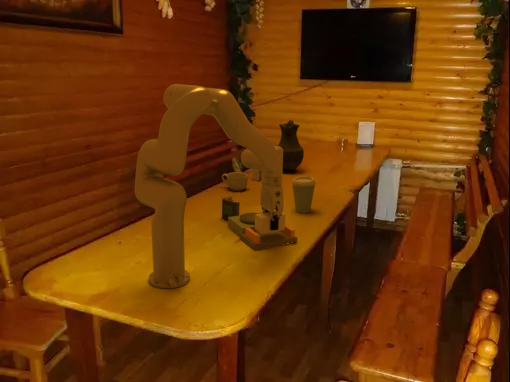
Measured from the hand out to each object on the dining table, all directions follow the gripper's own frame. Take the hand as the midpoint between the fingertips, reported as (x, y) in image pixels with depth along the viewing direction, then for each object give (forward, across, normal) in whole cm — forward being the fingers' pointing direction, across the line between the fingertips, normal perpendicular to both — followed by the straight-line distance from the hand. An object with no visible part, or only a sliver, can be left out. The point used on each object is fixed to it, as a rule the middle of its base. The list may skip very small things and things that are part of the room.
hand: (270, 226), depth 176 cm
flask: (+6, +28, +4) cm, 29 cm away
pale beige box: (+1, 0, 0) cm, 1 cm away
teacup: (+6, +71, -17) cm, 73 cm away
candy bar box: (+7, +85, -39) cm, 94 cm away
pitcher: (+7, +95, -63) cm, 114 cm away
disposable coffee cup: (+6, +27, -31) cm, 41 cm away
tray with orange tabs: (+6, +8, 0) cm, 10 cm away
